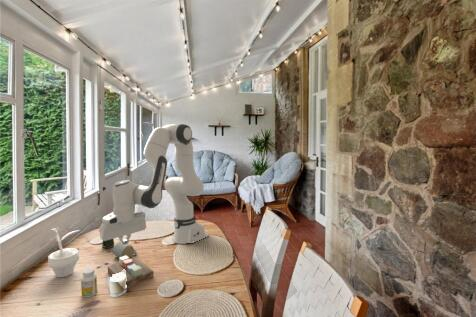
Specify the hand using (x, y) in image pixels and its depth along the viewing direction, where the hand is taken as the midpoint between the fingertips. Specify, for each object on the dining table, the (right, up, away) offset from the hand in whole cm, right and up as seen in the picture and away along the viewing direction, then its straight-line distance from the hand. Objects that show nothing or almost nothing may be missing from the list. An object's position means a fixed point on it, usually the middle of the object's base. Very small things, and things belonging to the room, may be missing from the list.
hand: (124, 243), depth 119 cm
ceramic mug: (-6, -12, +15) cm, 20 cm away
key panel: (+4, -13, -3) cm, 14 cm away
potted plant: (-26, -13, -3) cm, 29 cm away
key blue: (+6, -12, -5) cm, 14 cm away
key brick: (+2, -10, -2) cm, 11 cm away
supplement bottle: (-6, -14, -17) cm, 23 cm away
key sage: (+9, -11, -8) cm, 16 cm away
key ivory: (-1, -10, +1) cm, 10 cm away
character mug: (-21, -11, +26) cm, 35 cm away
